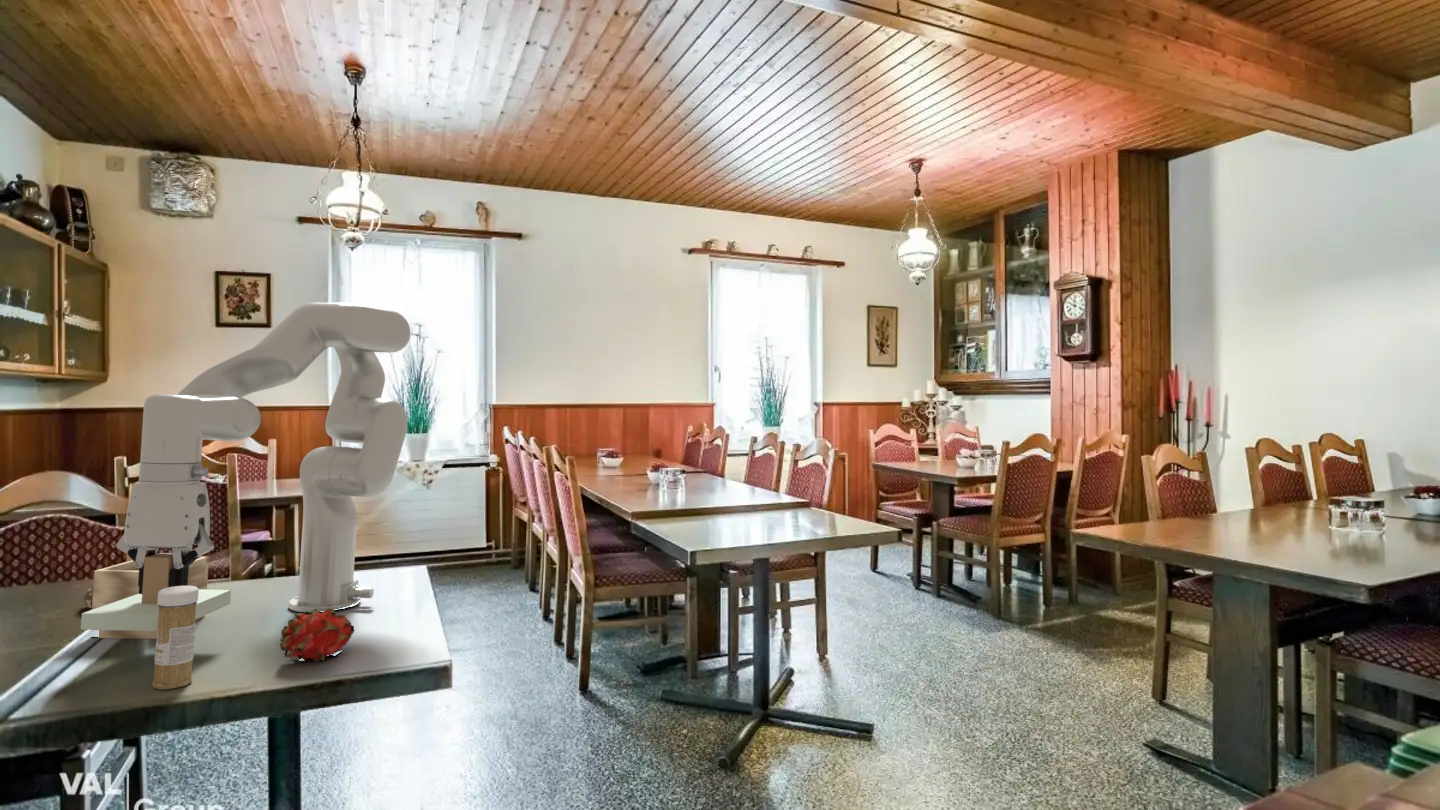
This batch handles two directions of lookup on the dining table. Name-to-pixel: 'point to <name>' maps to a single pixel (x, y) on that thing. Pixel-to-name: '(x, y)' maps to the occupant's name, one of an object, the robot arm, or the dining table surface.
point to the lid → (148, 601)
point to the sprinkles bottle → (175, 637)
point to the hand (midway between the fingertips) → (162, 591)
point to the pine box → (135, 590)
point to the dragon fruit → (315, 634)
